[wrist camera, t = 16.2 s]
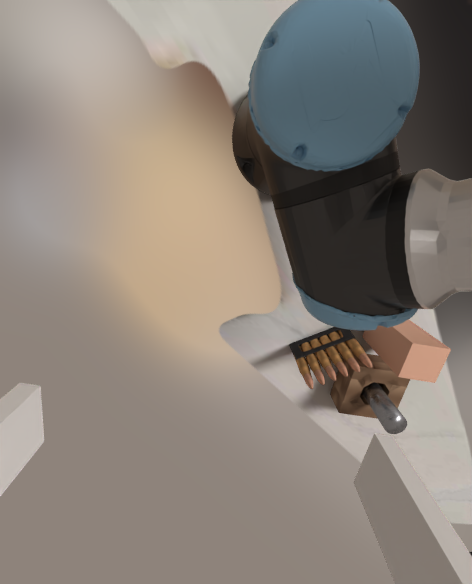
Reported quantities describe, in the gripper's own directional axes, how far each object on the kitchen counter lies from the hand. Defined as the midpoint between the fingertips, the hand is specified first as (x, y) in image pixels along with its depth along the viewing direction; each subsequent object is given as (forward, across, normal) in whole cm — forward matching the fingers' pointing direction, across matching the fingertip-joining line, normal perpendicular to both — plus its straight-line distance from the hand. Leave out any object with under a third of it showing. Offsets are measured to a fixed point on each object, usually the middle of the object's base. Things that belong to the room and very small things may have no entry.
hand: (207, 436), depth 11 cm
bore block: (+37, +29, -19) cm, 50 cm away
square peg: (+37, +29, -8) cm, 47 cm away
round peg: (+37, +29, -19) cm, 50 cm away
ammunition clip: (+37, +18, -12) cm, 43 cm away
